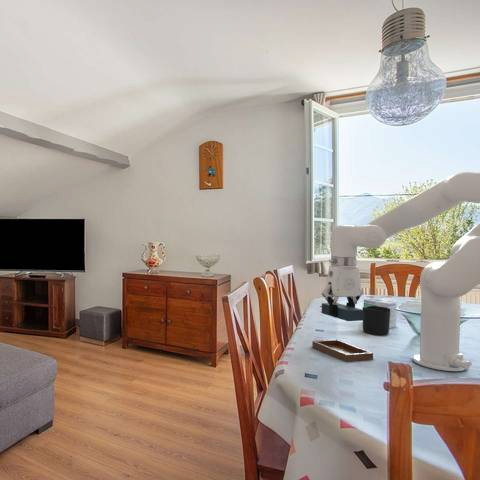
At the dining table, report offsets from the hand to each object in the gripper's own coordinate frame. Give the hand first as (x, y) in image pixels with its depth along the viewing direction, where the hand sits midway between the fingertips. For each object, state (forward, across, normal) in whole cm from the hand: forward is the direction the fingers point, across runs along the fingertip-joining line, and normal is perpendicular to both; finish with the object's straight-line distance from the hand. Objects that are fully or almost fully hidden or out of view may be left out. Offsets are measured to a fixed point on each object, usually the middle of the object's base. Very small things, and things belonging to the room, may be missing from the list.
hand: (341, 315), depth 135 cm
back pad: (+1, 0, 0) cm, 1 cm away
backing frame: (+13, 0, 0) cm, 13 cm away
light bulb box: (+13, +45, +29) cm, 55 cm away
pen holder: (+13, +33, +19) cm, 40 cm away
